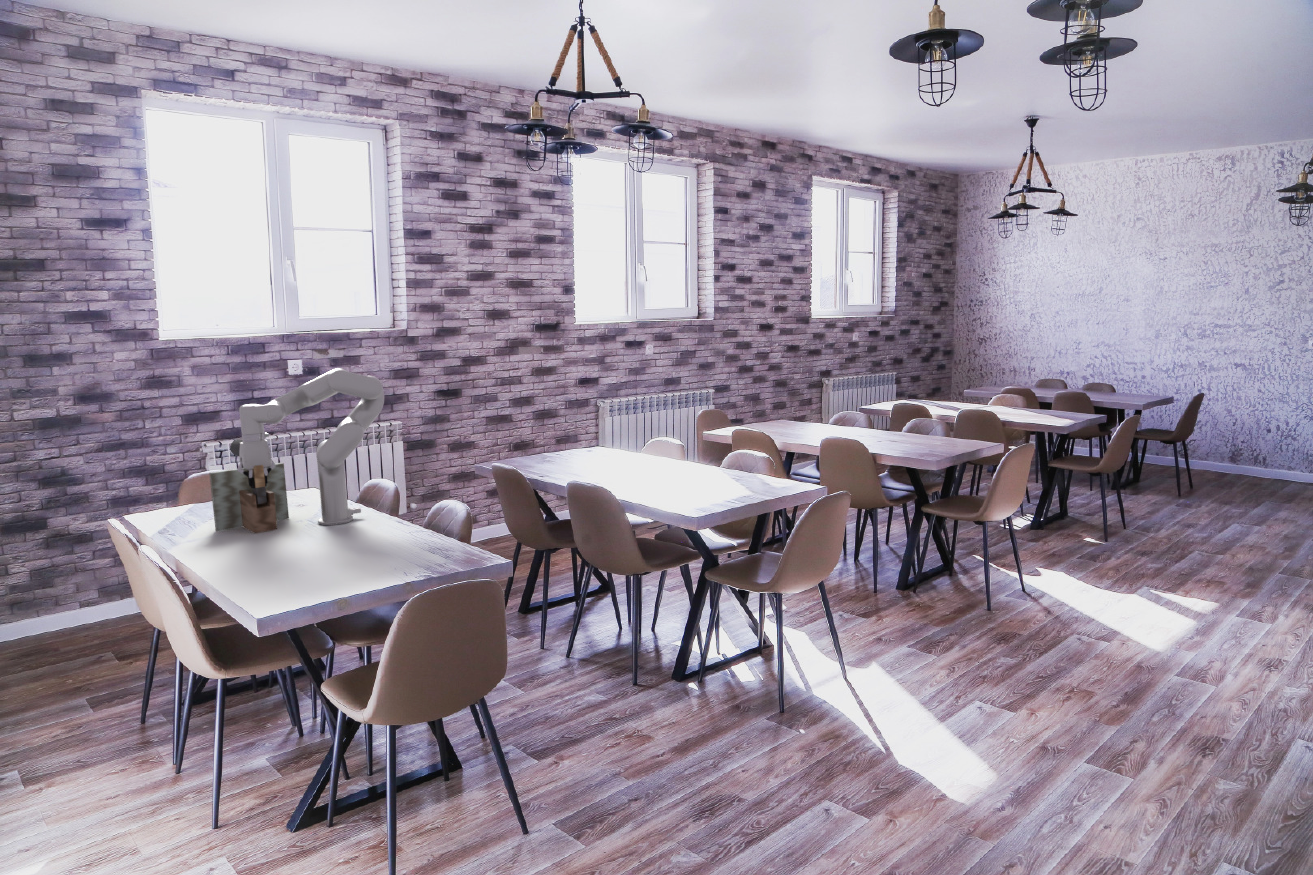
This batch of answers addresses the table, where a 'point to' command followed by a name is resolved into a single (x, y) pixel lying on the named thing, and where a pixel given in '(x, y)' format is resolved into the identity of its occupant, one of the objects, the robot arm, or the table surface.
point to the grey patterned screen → (248, 501)
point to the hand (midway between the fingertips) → (258, 486)
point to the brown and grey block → (259, 484)
